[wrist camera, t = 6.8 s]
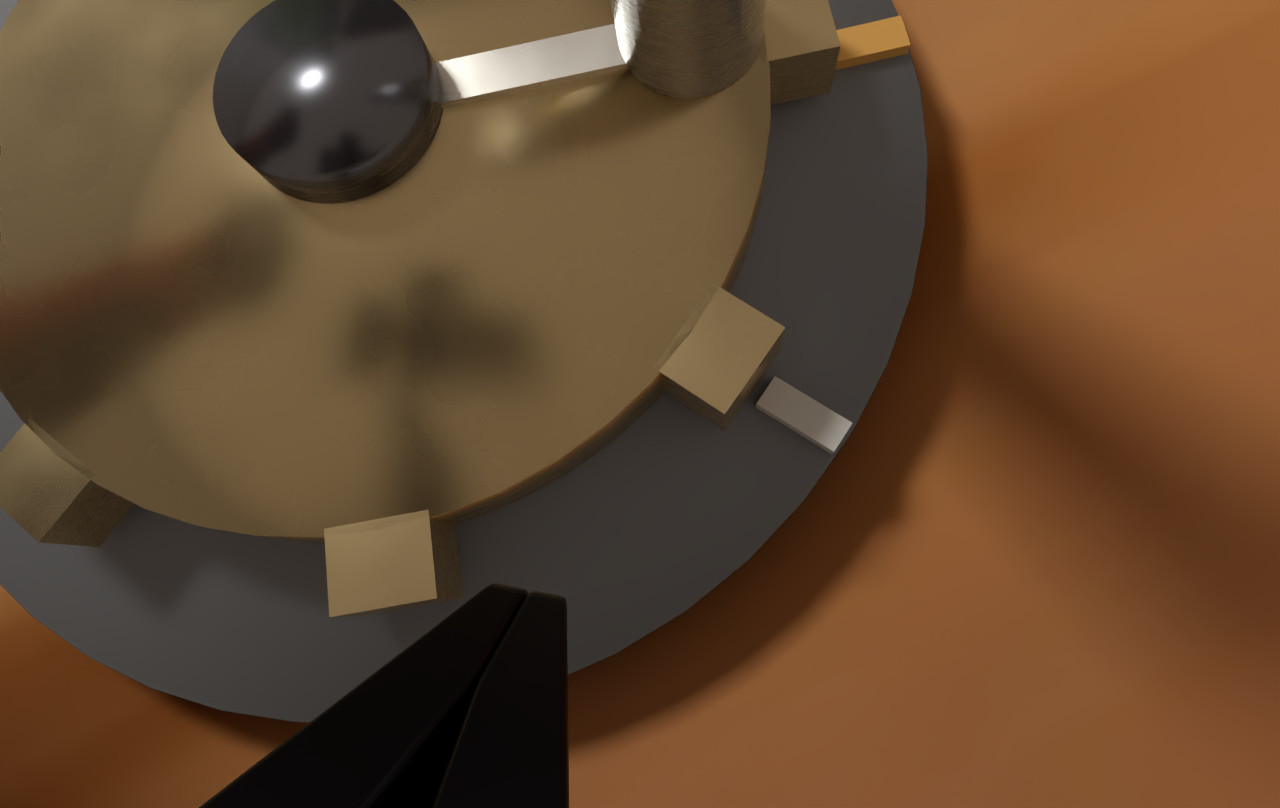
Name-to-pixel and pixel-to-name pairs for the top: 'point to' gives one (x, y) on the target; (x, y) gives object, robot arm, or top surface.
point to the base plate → (590, 494)
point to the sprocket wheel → (372, 256)
